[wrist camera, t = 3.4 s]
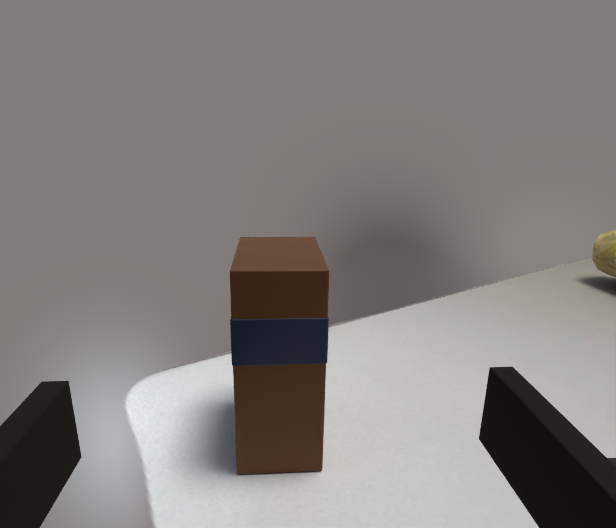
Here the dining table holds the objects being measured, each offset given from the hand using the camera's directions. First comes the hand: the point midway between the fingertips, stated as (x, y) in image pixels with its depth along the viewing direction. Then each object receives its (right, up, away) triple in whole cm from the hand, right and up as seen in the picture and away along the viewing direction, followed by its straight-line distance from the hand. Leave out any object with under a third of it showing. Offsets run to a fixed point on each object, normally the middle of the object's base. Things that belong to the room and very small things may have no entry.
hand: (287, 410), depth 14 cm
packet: (-1, -5, +12) cm, 13 cm away
